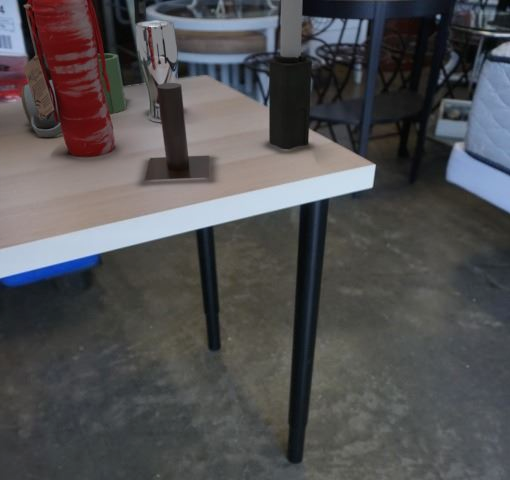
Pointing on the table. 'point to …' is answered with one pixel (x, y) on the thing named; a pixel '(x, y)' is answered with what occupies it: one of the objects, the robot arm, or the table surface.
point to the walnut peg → (175, 141)
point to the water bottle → (70, 73)
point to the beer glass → (157, 58)
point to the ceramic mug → (34, 118)
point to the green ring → (113, 83)
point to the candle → (290, 83)
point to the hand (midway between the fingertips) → (104, 33)
